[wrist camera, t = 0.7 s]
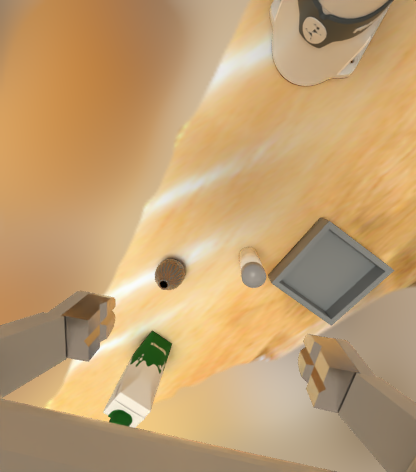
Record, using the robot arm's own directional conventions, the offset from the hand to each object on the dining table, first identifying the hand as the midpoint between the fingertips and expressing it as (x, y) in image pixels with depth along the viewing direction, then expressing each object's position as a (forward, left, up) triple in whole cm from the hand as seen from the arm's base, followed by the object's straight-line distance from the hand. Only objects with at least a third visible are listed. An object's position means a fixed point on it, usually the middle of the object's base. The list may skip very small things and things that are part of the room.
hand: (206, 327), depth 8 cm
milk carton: (+44, +8, -40) cm, 60 cm away
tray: (-2, +28, -39) cm, 48 cm away
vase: (+20, -1, -40) cm, 44 cm away
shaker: (+6, +12, -40) cm, 42 cm away
